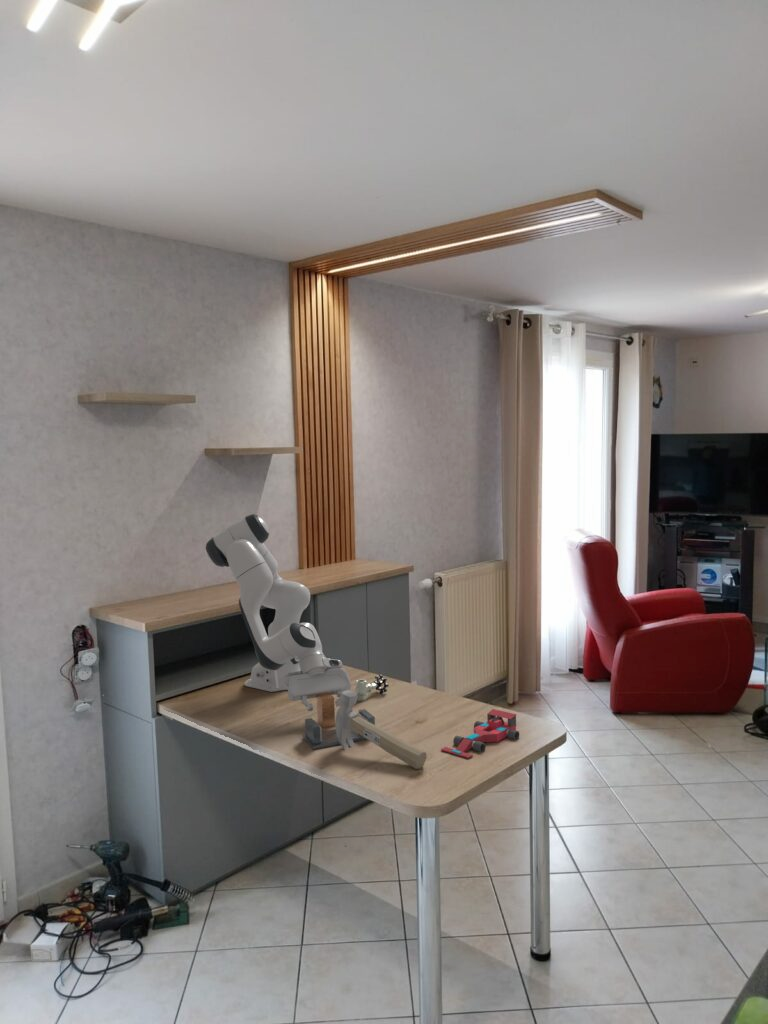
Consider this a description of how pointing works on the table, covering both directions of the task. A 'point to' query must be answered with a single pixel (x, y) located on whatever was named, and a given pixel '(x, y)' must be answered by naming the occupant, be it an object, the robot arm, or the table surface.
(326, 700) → the wooden rectangular block
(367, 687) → the valve
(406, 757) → the hammer
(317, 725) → the vise jaws
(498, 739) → the race car
